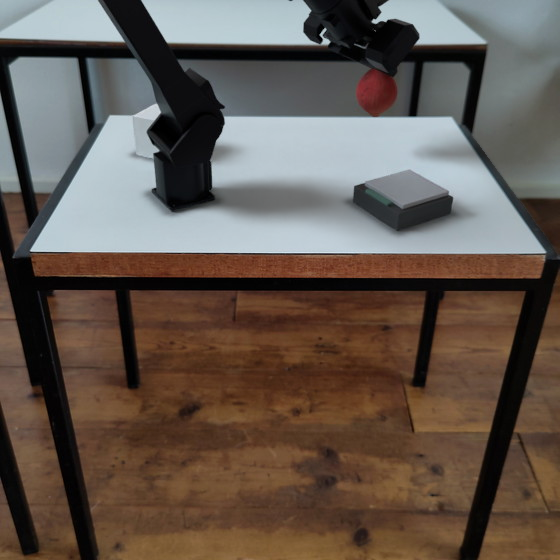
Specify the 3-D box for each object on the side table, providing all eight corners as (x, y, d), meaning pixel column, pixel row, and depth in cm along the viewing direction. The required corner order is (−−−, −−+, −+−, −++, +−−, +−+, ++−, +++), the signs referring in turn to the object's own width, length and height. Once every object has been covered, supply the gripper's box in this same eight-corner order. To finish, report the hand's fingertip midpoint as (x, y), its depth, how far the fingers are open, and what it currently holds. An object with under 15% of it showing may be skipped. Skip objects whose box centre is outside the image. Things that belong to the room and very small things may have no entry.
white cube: (158, 141, 107) (155, 103, 104) (192, 148, 105) (190, 109, 102) (136, 154, 103) (132, 115, 99) (170, 162, 101) (167, 122, 97)
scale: (396, 231, 85) (399, 209, 83) (352, 202, 91) (354, 181, 89) (450, 213, 89) (454, 192, 87) (404, 186, 95) (407, 166, 94)
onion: (356, 123, 99) (362, 67, 95) (351, 109, 104) (356, 55, 99) (397, 124, 99) (404, 68, 95) (390, 110, 104) (396, 56, 100)
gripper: (418, -46, 80) (470, 40, 91) (325, -67, 93) (380, 11, 104) (358, 31, 81) (417, 108, 92) (274, 0, 94) (334, 70, 105)
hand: (386, 70), depth 98 cm, fingers closed on onion, 3 cm apart
